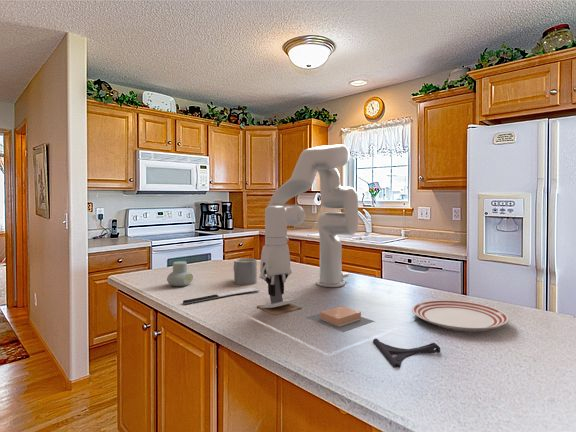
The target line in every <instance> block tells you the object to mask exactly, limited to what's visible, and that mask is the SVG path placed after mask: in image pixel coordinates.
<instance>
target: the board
mask: <svg viewBox="0 0 576 432" xmlns="http://www.w3.org/2000/svg"><path fill="white" fill-rule="evenodd" d="M269 303H270V302H267V303H264V304H259V305H256V309H260V310H262V311H265V312H267V313H268V314H272V315H274V316H279V315H282V314H286V313H290V312H294V311H297V310H302V306H298V305H295V304H294V303H290V304H286V305H281V306H277V307H273V308H263V305H265V304H269Z"/></svg>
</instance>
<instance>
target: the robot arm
mask: <svg viewBox="0 0 576 432" xmlns="http://www.w3.org/2000/svg"><path fill="white" fill-rule="evenodd" d="M349 160H350V150H349V148H348V147H347V146H346V145H345V144H331V145H320V146H319V145H318V146H314V147H309V148H306V149H304V150H302V152H301V153H300V154H299V157H298V159H297V162H296V164H295V167H294V169H293V171H292V173H291V177H290V178H288V180H287V181H286V182H284V183H283V184H282V185H280V186H279V188H277V189H276V191H274V192H273V194H272V196H271V198H270V199H269V203H268V205H267V206H266V207H265V208H264V209H265V210H264V245H262V250H261V255H260V269H259V270H260V274H259V279H262V280H264V281H265V282H266V284H267V292H268V295H269V296H270V295H271V296H275V285H274V276H275V275H279V280H280V287H281V293H282V295H284V294H285V283H286V281H287V279H288V277H289V276H290V275H291V274H292V272H293V271H292V269H291V255H290V249H289V245H288V242H289V240H290V238H289V237H288V226H291V227H292V226H293V227H296V226H299V225H301V224H302V223H304V221H305V218H306V212H305V209H304V208H303V207H302V206H301V205H298V204H288V203H287V202H288V201H289V200H291V199H292V198H294V197H296V196H299V195H301V194H304V193H306V192H307V191H309V190H310V189H311V188H312V186H313V185H314V184H313V183H314V181H315V178H316V177H317V174H318V175H319V182H320V183H319V184H320V185H319V186H320V188H319V189H320V204H321V206H322V207H323V208H325V209H331V210H335V209H336V210H343V212H341V211H325V212H322V213H321V214H320V215H319V216H318V217H317V229H318V234H319V235H318V236H319V278H318V279H316V280H315V284H316V285H317V286H320V287H324V288H325V287H326V288H339V287H344V285H346V281H345V280H344V278H348V277H349V276H350V275H349V273H348V272H342V268H343V267H342V263H343V262H342V260H343V258H342V255H343V254H342V253H343V251H342V249H343V246H342V244H343V243H342V241H341V239H340V237H339V235H343V236H353V235H355V234H356V233H357V232H358V228H359V198H358V197H359V196H358V194H357V190H356V189H355V188H354V187H351V186H341V176H340V173H339V170H338V168H342V167H345V165H346V164H347V163H348V162H349ZM286 203H287V204H286ZM266 274H267V275H266ZM270 277H271V279H270Z"/></svg>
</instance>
